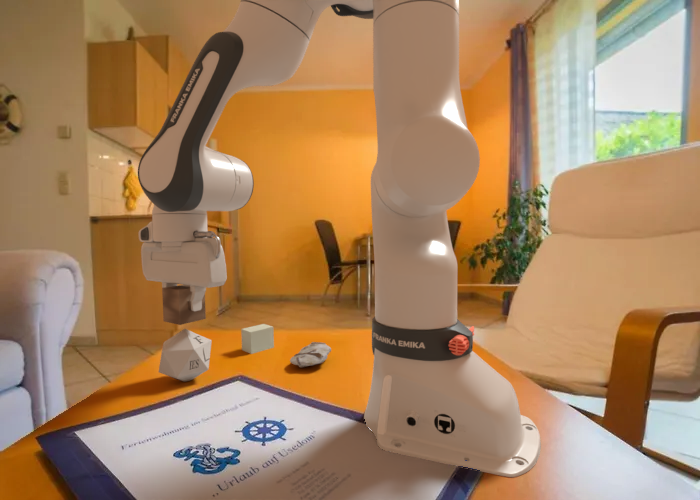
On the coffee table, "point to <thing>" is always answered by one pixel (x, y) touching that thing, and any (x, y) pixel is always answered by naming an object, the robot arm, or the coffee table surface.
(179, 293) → the walnut block
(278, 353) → the coffee table surface
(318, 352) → the stone
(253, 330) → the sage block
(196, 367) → the die
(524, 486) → the coffee table surface
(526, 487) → the coffee table surface
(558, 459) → the coffee table surface
